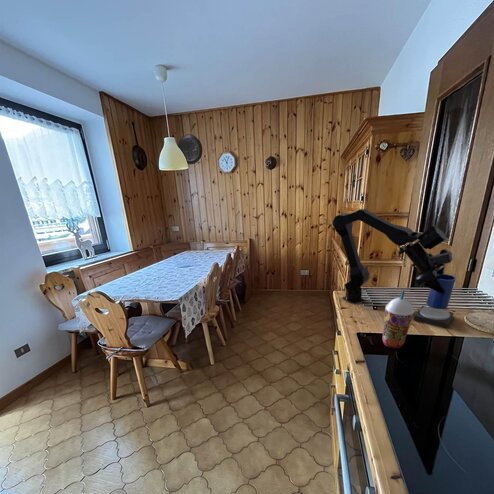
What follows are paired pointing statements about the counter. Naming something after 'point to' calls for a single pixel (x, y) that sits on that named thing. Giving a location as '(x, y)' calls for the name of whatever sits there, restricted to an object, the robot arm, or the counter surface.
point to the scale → (434, 316)
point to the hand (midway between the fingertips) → (445, 290)
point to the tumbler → (437, 298)
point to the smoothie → (397, 321)
